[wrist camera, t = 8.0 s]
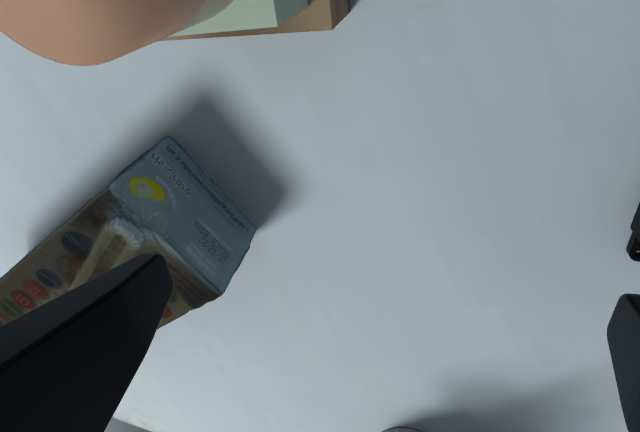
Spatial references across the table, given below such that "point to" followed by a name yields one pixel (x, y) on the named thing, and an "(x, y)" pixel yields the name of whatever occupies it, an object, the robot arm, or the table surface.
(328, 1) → the base block
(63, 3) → the pink domed cylinder
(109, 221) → the beverage carton
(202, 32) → the top block
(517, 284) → the table surface
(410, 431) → the house plant
